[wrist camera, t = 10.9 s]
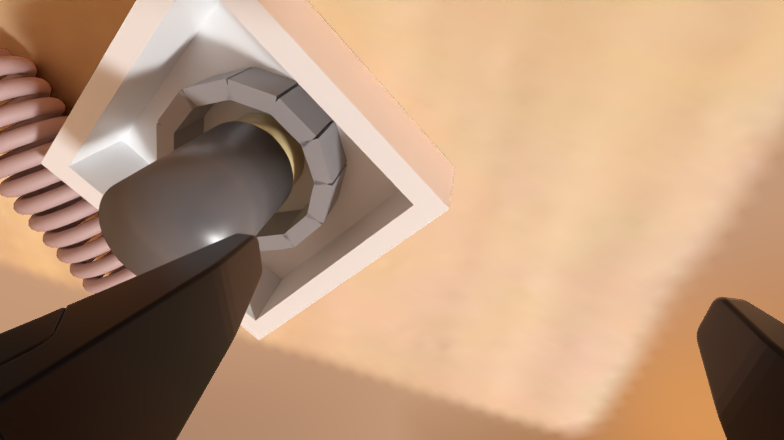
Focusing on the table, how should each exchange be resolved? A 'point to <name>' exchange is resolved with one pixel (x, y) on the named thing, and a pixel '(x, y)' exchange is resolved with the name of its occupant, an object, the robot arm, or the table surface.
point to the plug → (201, 192)
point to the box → (288, 106)
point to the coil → (48, 177)
